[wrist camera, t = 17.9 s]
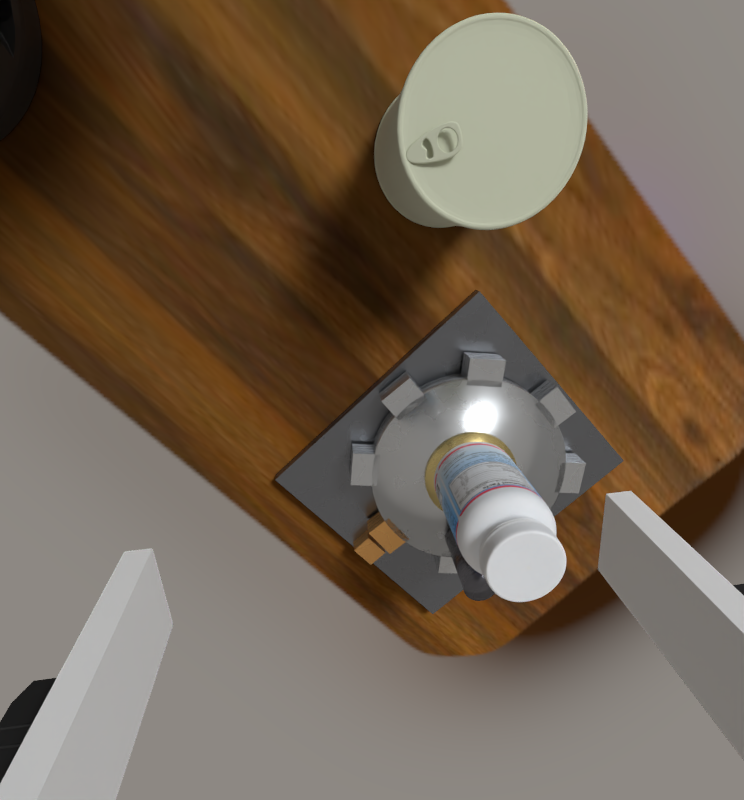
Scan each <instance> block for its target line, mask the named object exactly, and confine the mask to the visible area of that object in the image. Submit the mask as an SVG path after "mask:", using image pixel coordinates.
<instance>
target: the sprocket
mask: <svg viewBox="0 0 744 800" xmlns="http://www.w3.org/2000/svg"><path fill="white" fill-rule="evenodd" d="M505 364H506V360H505V359H504V358H502V357H501V356H500V355H498V354H485V353H470V352H464V356H463V363H462V369H461V373H460V374H452V375H449V376H445V377H441V378H438V379H435V380H433V381H430V382H428V383H426V384H424V385H422V386H420V387H419V386H418V385H417V383H416V382H415V381H414V380H413V379H412V378H411V376H410V375H409V374H408V373H407V372H404V373H403V374H402V375H401V376H400V377H398V378H397V379H396V380H395V381H393V382H392V383H391V384H390V385H389V386H387V387H386V388H385V389H384V390H383V391H381V392H380V393H379V395H380V398H381V401H382V403H383V404H384V405H385V406H386V407H387V408H388V409H389V410H390V411H391V412H390V413H389V414H388V415H387V417H386V418H385V420H384V421H383V423H382V424H381V426H380V428H379V430H378V433H377V435H376V437H375V440H374V443H373V444H352V450H351V462H350V484H351V485H362V486H372V490H373V495H374V498H375V502H376V505H377V507H378V510H379V512H378V513H376V514H375V515H374V516H373V517H371V518H370V519H369V520H368V521H367V524H368V532H369V534H370V535H371V536H372V537H373V538H374V539H375V540H376V541H377V542H378V543H379V544H380V545H381V546H382V547H383V548H384V549H385V550H386V551H387V552H388V553H389V554H391V553H392V552H393V551H394V550H396V549H397V548H398V547H400V546H401V545H402V544H404V543H405V542H407V543H408V544H410V545H411V546H413V547H415V548H417V549H419V550H421V551H424V552H427V553H430V554H433V555H435V556H434V561H435V564H436V567H437V570H438V573H458V576H459V579H460V581H461V584H462V587H463V589H464V592H465V594H466V595H467V597H469V598H470V599H472V600H476V601H481V600H486V599H488V598H490V597H491V596H493V595H494V594H495V592H494V591H493V590H492V589H491V588H490V587H489V585H488V583H487V581H486V579H485V577H484V576H483V575H482V574H480V573H478V572H477V571H475V570H474V569H473V568H472V567H471V566H470V565H469V564H468V563H467V562H466V560H465V559H464V557H463V556H462V554H461V552H460V550H459V547H458V545H457V543H456V540H455V538H454V535H453V533H452V531H451V528H450V526H449V524H448V521H447V519H446V516H445V514H444V512H443V509H442V507H441V504H440V502H439V500H438V497H437V494H436V492H435V488H434V475H435V471H436V468H437V466H438V464H439V462H440V461H441V459H442V458H443V457H444V455H445V454H446V453H447V452H449V451H450V450H451V449H453V448H454V447H456V446H458V445H461V444H464V443H468V442H486V443H490V444H493V445H496V446H498V447H499V448H501V449H502V450H504V451H505V452H506V453H507V454H508V455H509V457H510V458H511V459H512V460H513V462H514V463H515V464H516V466H517V467H518V468H519V469H520V471H521V472H522V473H523V475H524V476H525V477H526V479H527V480H528V481H529V482H530V484H531V485H532V486H533V487H534V489H535V490H536V491H537V493H538V494H539V495H540V496H541V498H542V499H543V500H544V501H545V503H546V504H547V506H548V507H549V509H551V507H552V506H553V504H554V502H555V501H556V499H557V496H558V494H559V493H579V491H580V487H581V482H582V478H583V474H584V470H585V465H586V463H585V462H584V461H583V460H582V459H581V458H580V457H579V456H578V455H576V454H574V453H566V451H565V444H564V440H563V437H562V433H561V431H560V429H559V426H558V425H559V424H561V423H562V422H563V421H565V420H566V419H567V418H569V417H570V416H571V415H573V414H574V413H575V412H576V411H575V410H574V408H573V407H572V406H571V404H570V403H569V402H568V400H567V399H566V398H565V396H564V395H563V394H562V392H561V391H560V390H559V388H558V387H557V386H555V385H554V384H553V383H551V382H550V381H549V380H546V381H545V382H544V383H543V384H541V385H540V386H539V387H537V388H536V389H535V390H534V391H532V392H531V393H529V392H528V391H527V390H525V389H524V388H523V387H521V386H519V385H518V384H516V383H514V382H512V381H510V380H507V379H505V378H503V376H504V370H505Z"/></svg>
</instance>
